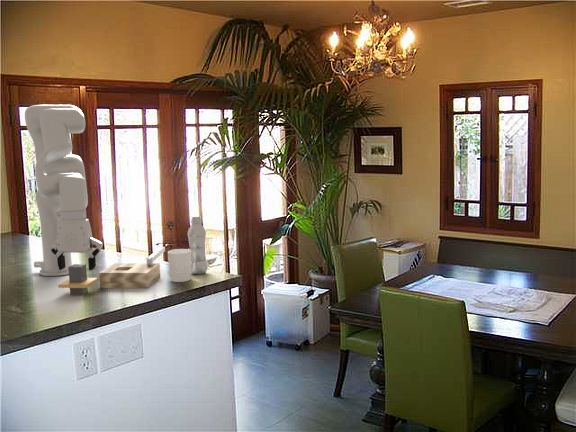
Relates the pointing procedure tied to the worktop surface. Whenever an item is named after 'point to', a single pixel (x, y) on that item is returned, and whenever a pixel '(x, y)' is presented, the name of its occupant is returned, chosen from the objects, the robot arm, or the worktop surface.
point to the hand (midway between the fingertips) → (77, 269)
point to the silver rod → (155, 256)
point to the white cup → (180, 265)
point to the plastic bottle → (197, 246)
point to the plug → (78, 280)
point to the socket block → (129, 275)
